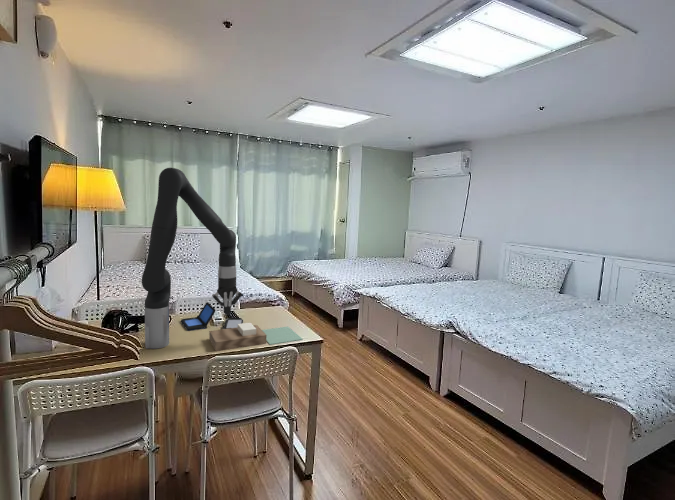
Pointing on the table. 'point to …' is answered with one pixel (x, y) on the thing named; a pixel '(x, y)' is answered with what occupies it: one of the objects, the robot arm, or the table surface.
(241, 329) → the tile
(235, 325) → the gaming console
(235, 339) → the block
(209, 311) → the handheld game console
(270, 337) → the mat
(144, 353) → the table surface
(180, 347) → the table surface
